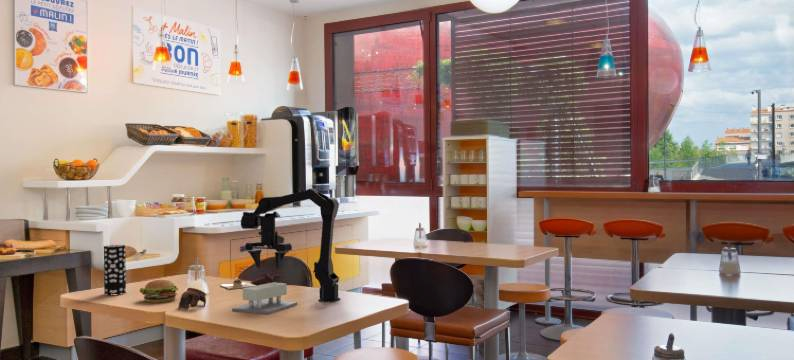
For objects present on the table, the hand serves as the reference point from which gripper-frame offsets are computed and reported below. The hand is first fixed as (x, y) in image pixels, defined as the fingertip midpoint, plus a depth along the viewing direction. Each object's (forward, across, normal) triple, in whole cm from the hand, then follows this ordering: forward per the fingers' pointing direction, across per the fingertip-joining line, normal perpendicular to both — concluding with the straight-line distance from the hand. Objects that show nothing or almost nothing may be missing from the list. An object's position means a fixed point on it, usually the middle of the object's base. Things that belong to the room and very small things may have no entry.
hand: (268, 268), depth 263 cm
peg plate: (+12, -9, +15) cm, 21 cm away
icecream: (+12, +14, -18) cm, 26 cm away
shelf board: (+8, -9, +15) cm, 19 cm away
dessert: (+13, +31, -20) cm, 39 cm away
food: (+12, +40, +17) cm, 45 cm away
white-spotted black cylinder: (+12, +68, +13) cm, 70 cm away
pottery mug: (+12, +17, +24) cm, 32 cm away
